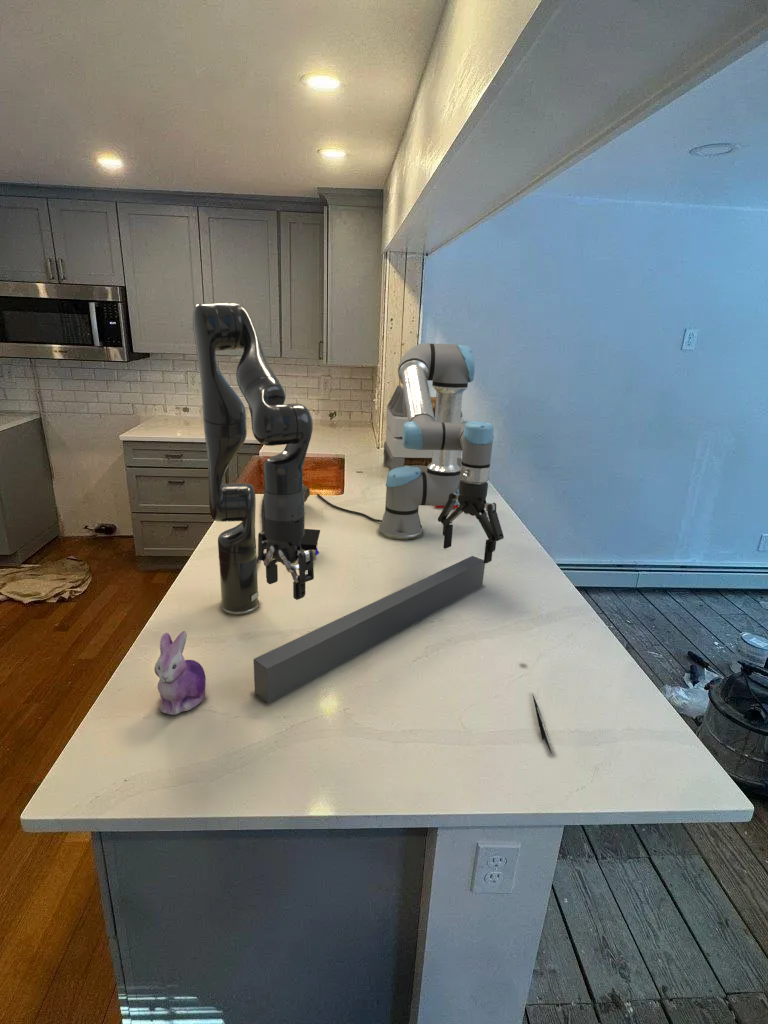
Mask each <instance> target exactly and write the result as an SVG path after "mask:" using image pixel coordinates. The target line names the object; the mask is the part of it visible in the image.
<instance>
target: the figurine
mask: <svg viewBox="0 0 768 1024" xmlns="http://www.w3.org/2000/svg"><path fill="white" fill-rule="evenodd" d="M187 635H188V634H187V632H186V631H185V630H183V631H181V632H179V634H178V635H177V636H176V638H175V639H174V640H173V639H172V637H171V635H170V633H169V632H164V633H163V634H162V635H161V636H160V640H159V641H160V642H159V652H160V654H159V657H158V658H157V660H156V662H155V665H154V668H153V669H154V674H155V676H156V677H158V683H157V690H158V693H159V695H160V699H161V703H160V712H162V713H163V714H166V715H167V714H168V715H172V716H173V715H174V716H175V715H178V714H180V713H183V712H187V711H191V710H192V709H194V708H195V707H197V706H198V705H199V704H201V703H202V702H203V701H204V700H205V696H206V686H207V685H206V684H207V683H206V682H207V681H206V680H207V677H206V671H205V670H204V667H203V666H202V665H201V663H200V662H198V661H196V660H194V659H185V657H184V655H183V652H184V649H185V647H186V646H185V645H186V642H187V637H188V636H187Z"/></svg>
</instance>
